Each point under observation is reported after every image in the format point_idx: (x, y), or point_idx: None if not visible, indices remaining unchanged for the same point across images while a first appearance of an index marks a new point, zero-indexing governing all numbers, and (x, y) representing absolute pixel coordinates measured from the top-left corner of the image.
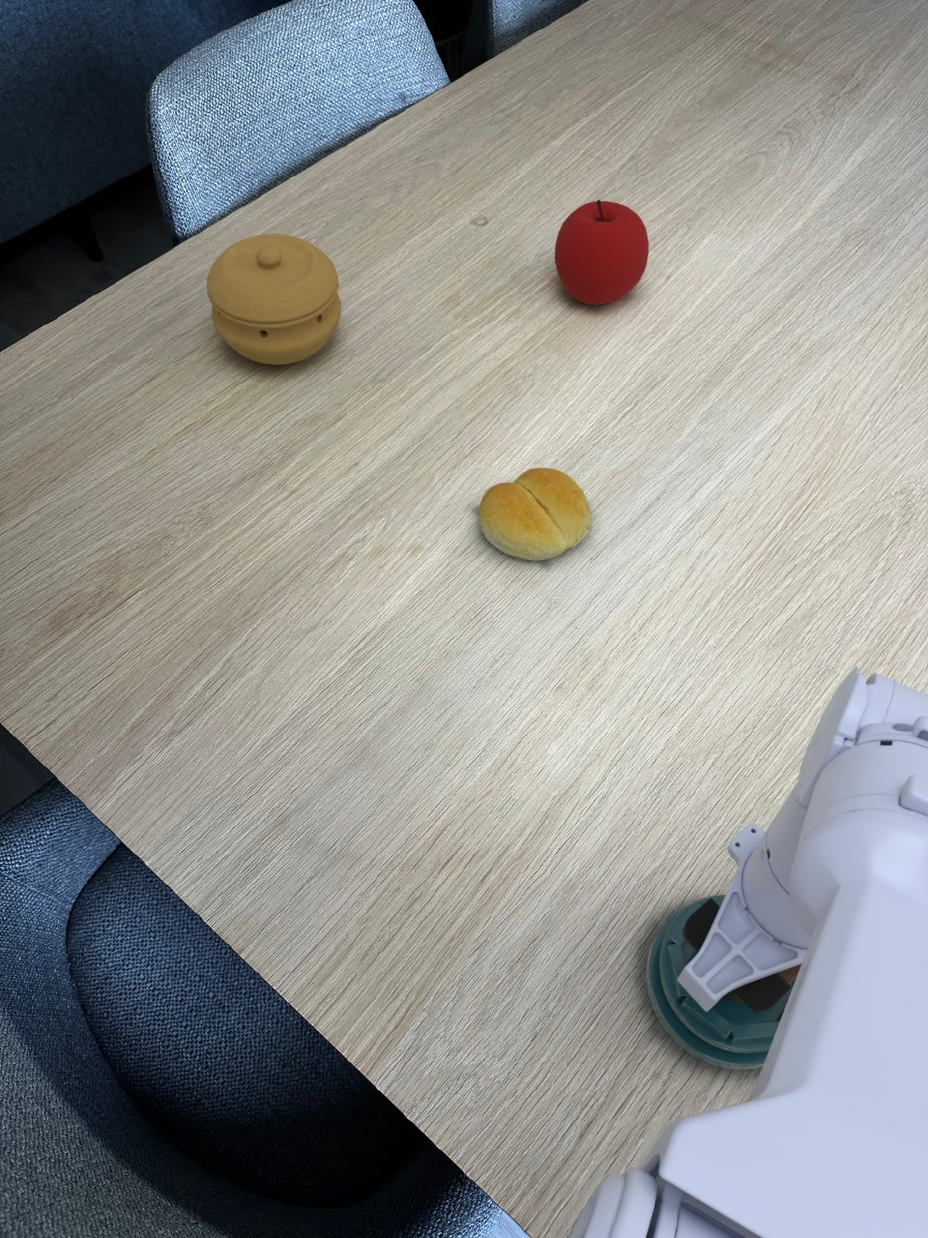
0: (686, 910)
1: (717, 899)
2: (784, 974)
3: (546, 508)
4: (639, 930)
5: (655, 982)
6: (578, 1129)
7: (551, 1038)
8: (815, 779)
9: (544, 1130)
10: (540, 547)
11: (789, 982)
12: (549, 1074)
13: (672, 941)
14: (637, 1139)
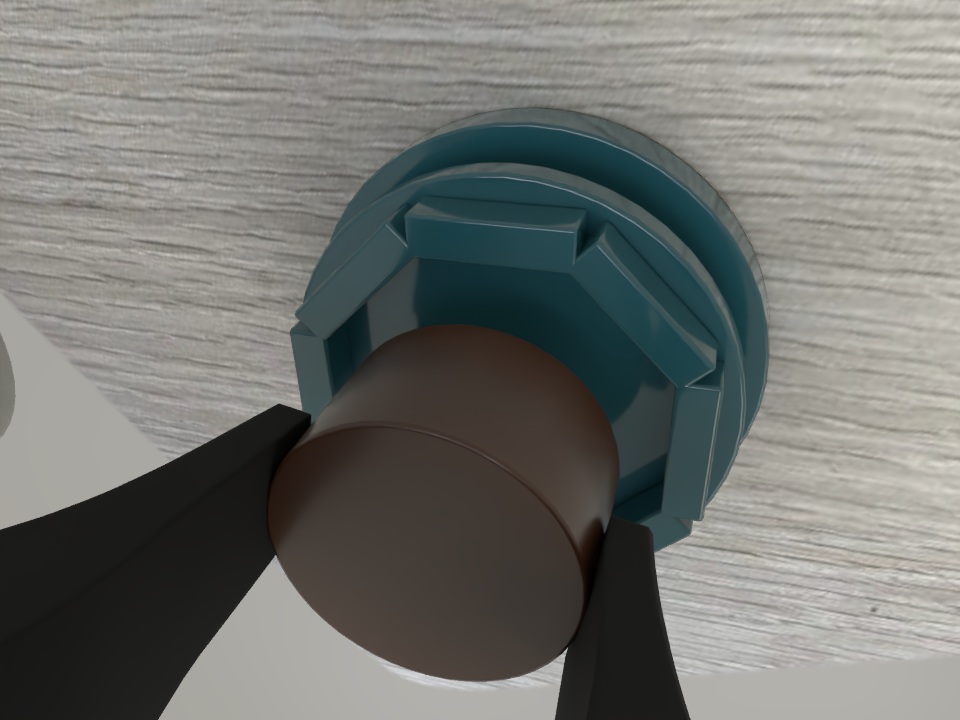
0: (561, 195)
1: (632, 286)
2: (391, 645)
3: None
4: (511, 51)
5: (378, 192)
6: (69, 193)
7: (126, 23)
8: None
9: (11, 133)
10: None
11: (384, 657)
12: (77, 72)
13: (406, 223)
14: (153, 300)
